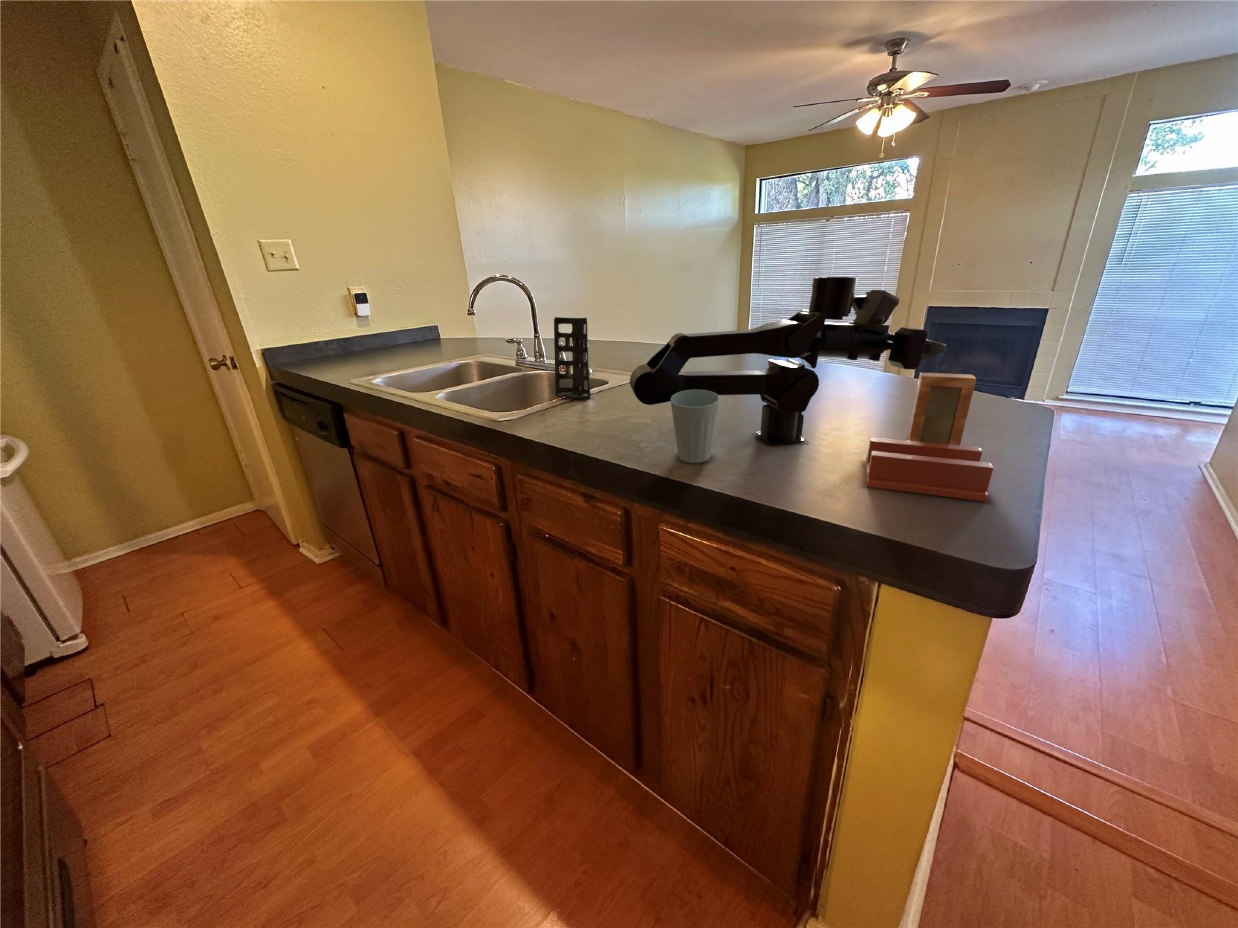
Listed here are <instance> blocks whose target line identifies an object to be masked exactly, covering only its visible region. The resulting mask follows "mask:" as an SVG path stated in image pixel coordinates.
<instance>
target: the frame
mask: <svg viewBox="0 0 1238 928" xmlns="http://www.w3.org/2000/svg"><path fill="white" fill-rule="evenodd" d="M976 382H977V378H976V377H975V375H973V374H966V373H965V374H964V373H943V372H942V373H940V372H919V375H918V380H917V384H916V385H917V386H916V390H915V396H914V401H913V405H912V411H911V415H910V420H909V426H908V431H907V435H906V441H916V442H927V443H938V444H949V445H960V446H961V445H962V444H961V443H962V440H963V435H964V431H965V427H966V424H967V422H966V421H967V418H968V415H969V411H970V410H969V409H970V407H971V402H972V399H973V394H974V390H975V386H976Z"/></svg>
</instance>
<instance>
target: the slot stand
mask: <svg viewBox="0 0 1238 928" xmlns="http://www.w3.org/2000/svg"><path fill="white" fill-rule="evenodd" d="M982 455H983V451H982V449H981V448H980V447H979V446H969V445H961V444H960V445H949V444H938V443H927V442H916V441H907V440H904V439H892V438H883V437H882V438H881V437H869V443H868V449H867V455H866V457H865V458H866V459H865V472H866V474H865V475H866V486H867V488H876V489H884V490H891V491H898V492H899V491H900V492H906V493H907V492H908V493H913V494H914V493H915V494H922V495H930V496H931V495H932V496H938V497H946V498H954V499H962V500H969V501H970V500H971V501H977V502H985V503H986V502H987V501H988V498H989V494H988V490H989V486H990V484H991V483H990V482H991V479H992V476H993V472H994V467H993V465H992V464H991V462H985V461H981V458H982Z"/></svg>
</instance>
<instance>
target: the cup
mask: <svg viewBox="0 0 1238 928" xmlns="http://www.w3.org/2000/svg"><path fill="white" fill-rule="evenodd" d="M719 403H720V395H717V394H716V393H714V392H711V391H707V390H685V391H681V392H678V393H676V394H674V395H673V396H672V397H671V401H670V406H671V413H672V420H673V421H672V422H673V428H674V434H675V435H674V436H675V442H676V449H677V456H678V458H679V459H680V460H681V461H683V462H685V463H691V464H699V463H704V462H707V461H708V460H709V459H710V458H712V457H711V456H712V452H713V446H714V439H715V432H716V424H717V419H718V411H719V406H720V405H719Z"/></svg>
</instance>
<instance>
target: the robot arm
mask: <svg viewBox="0 0 1238 928" xmlns="http://www.w3.org/2000/svg"><path fill="white" fill-rule="evenodd" d="M858 279H859V277H852V276H851V277H850V276H827V277H821V276H815V277H813V279H812V285H811V297H810V300H809V301H810V302H809V305H808V306H809V307H808V309H801V310H799V311H798V312H796V313H795V314H793V315H792V316H790V317H789V318H787V319H780V320H776V321H773V322H769V323H768V322H767V323H764V324H762V325H759V326H757V327H753V328H749V329H740V330H724V331H709V332H696V333H695V332H694V333H684V332H679V333H675V334H674V335H671V338H670V339H669V340H668V342H666V343H665V344H664V345H663V346H662V347H661V348H660V349H659V350H658V351H657V352H656V353H654V354H653V355H652V356H651V357H650V358H649V360H648V361H647V362H645V364H639V365H638V366H637V367H636V368H634V369H633V371H632V372H631V375H630V378H629V386H630V388H631V390H632V393H633V394H634V396H635V398H636V399H637V400H638V401H639V402H640V403H641V404H643V405H647V406H654V405H659V404H665V403H669V402H670V403H671V397H672V396H673V395H674V394H676V393H678V392H681V391H685V390H707V391H711V392H714V393H716V394H717V395H718V396H743V395H744V396H755V395H757V396H758V395H759V397H760V401H761V402H763V403H765V404H762V407H761V420H760V431H756V432H755V433H756V436H758V437H759V438H760V439H761V440H763V441H764V442H766V443H767V444H768V445H771V446H774V445H775V446H776V445H788V444H798V443H799V444H800V443H804V442H805V439H804V438H803V437H802V436H803V430H804V421H805V420H804V419H805V414H804V412H806V411H807V408H808V406H809V404H810V402H811V401H812V400H811V399H812V398H813V397H814V396H815V394H816V393H817V392H818V389H819V386H820V378H819V377H818V374H817V373H816V372H815V369H816V368H817V365H818V359H819V358H836V359H838V358H839V359H847V360H850V361H857V360H858V359H860V360H861V359H862V360H869V361H873V362H880V360H881V356H882V354H884V352H886V351H889V355H888V359H887V360H888V362H889V364H890V365H891V366H892V367H895V368H899V369H902V370H913V371H914V370H917V369H918V368H919V367H920V364H921V363H923V362H925V361H927V360H929V359H931V358H933V357H935V356H937V355H939V354H942V353H944V352H945V351H946V348H947V345H946V344H944V343H941V342H937V341H933V340H930V339H927V338H928V335H929V334H928V331H927V329H922V328H917V327H908V326H907V327H905V326H902V327H900V328H899V329H897V330H896V331H895V332H894V333H892V332H889V330H890V327H891V325H890V324H886V323H887V322H888V320H889V319H890V317H891V316H892V313H893V312H894V311H895V309H896V308H897V307H898V305H899V304H900V301H901V300H900V298H899V297H898V296H896V295H894V294H892V293H890V292H889V291H886V290H884V289H871V290H870V291H865V295H855V294H856V288H857V284H858ZM852 309H853V311H854V315H855V318H854V319H852V320H851V321H849V320H847V321H846V322H843V323H836V322H835V323H834V322H826V320H834V321H836V320H837V321H842V320H843V319H844V317H845V318H848V317H849V315H850V314H851V313H852V312H851V311H852ZM750 354H751V355H752V354H756V355H757V354H759V355H764V356H765V355H766V356H771V357H777V358H786V359H784V360H774V359H768V361H767V362H768V367H765V368H763V369H758V370H708V371H707V370H706V371H705V370H704V371H702V370H701V371H699V370H698V371H683V368H684V366H685V365H686V364H687V362H688V361H689V360H690V359H696V358H697V359H698V358H710V357H723V356H736V355H738V356H739V355H750ZM797 358H798V359H799V360H801V363H800V362H799V361H795V360H793V359H797ZM808 367H809V368H808ZM812 369H813V370H812Z"/></svg>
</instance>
